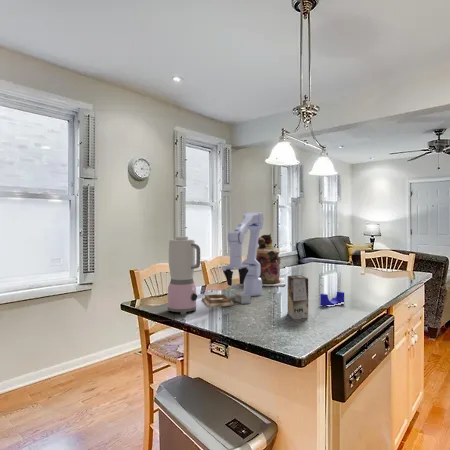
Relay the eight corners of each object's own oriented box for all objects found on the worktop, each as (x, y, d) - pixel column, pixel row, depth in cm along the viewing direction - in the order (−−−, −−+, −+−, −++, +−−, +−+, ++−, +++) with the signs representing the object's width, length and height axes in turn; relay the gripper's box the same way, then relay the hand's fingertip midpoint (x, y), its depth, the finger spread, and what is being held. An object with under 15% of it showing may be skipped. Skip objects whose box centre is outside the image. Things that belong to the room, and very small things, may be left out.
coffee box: (309, 319, 134) (309, 278, 134) (293, 319, 133) (293, 278, 133) (301, 313, 143) (301, 275, 143) (286, 313, 142) (286, 275, 142)
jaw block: (244, 300, 168) (244, 292, 168) (250, 303, 161) (250, 295, 161) (234, 301, 166) (234, 293, 166) (241, 304, 159) (241, 296, 159)
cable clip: (336, 303, 162) (336, 290, 162) (344, 305, 158) (344, 292, 158) (318, 306, 156) (318, 293, 156) (325, 308, 152) (325, 295, 152)
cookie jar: (247, 280, 230) (247, 232, 230) (284, 280, 227) (284, 232, 227) (244, 286, 206) (244, 233, 206) (286, 287, 202) (286, 233, 202)
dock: (225, 298, 172) (225, 293, 172) (234, 305, 156) (234, 299, 156) (202, 299, 169) (202, 294, 169) (208, 307, 153) (208, 301, 153)
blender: (161, 312, 144) (161, 237, 144) (179, 306, 155) (179, 236, 155) (190, 317, 136) (190, 237, 136) (208, 311, 146) (208, 236, 146)
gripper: (242, 255, 171) (242, 282, 171) (218, 256, 162) (218, 284, 162) (251, 256, 165) (251, 284, 165) (226, 257, 157) (226, 287, 157)
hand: (235, 284), depth 163 cm, fingers open, 7 cm apart
